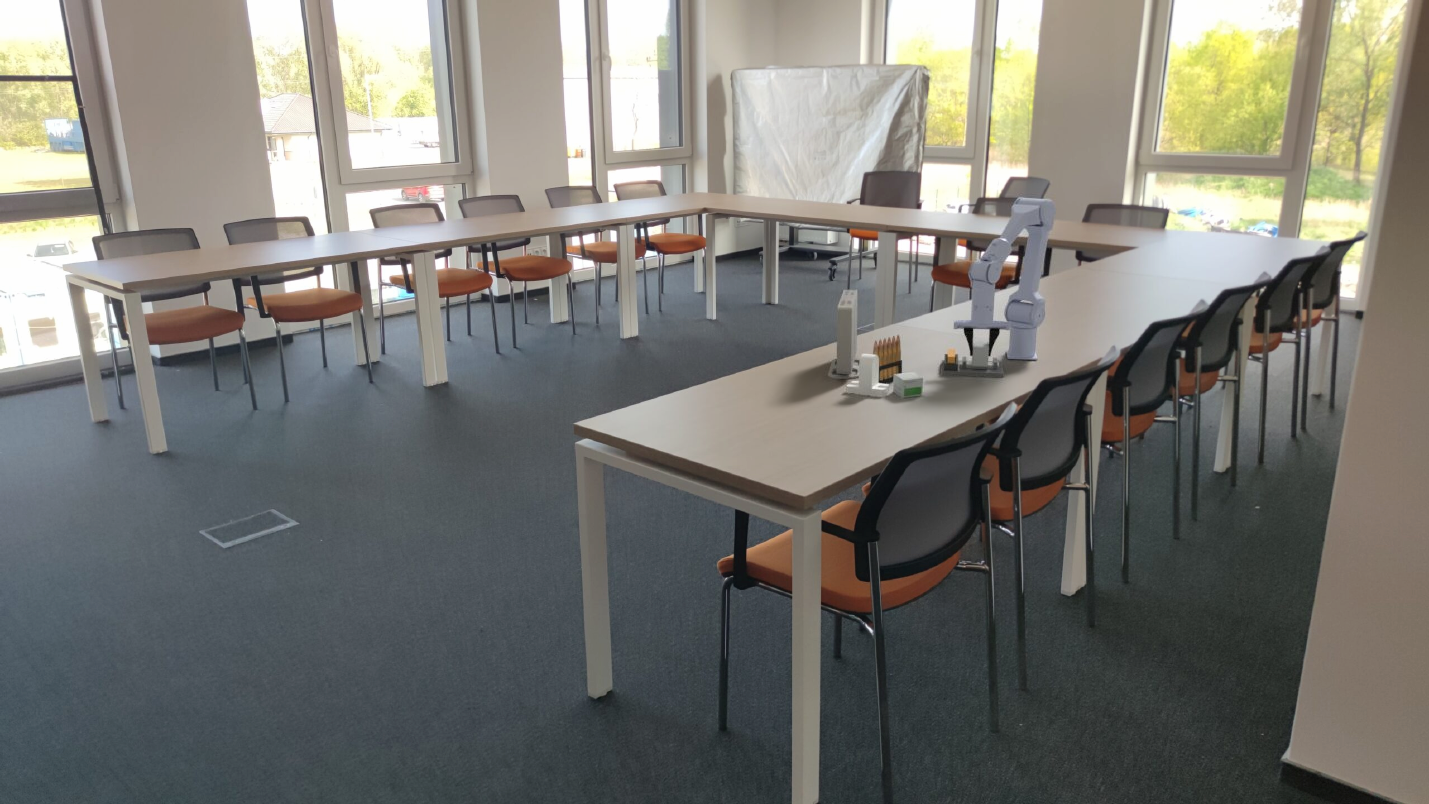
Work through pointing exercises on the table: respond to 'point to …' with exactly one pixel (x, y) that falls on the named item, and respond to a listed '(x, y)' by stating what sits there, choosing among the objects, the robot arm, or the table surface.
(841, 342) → the network device
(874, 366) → the cable organizer
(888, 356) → the ammunition clip
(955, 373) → the mounting board
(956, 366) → the gray slotted fixture
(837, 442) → the table surface
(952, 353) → the locking tab
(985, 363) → the block
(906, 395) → the small box
